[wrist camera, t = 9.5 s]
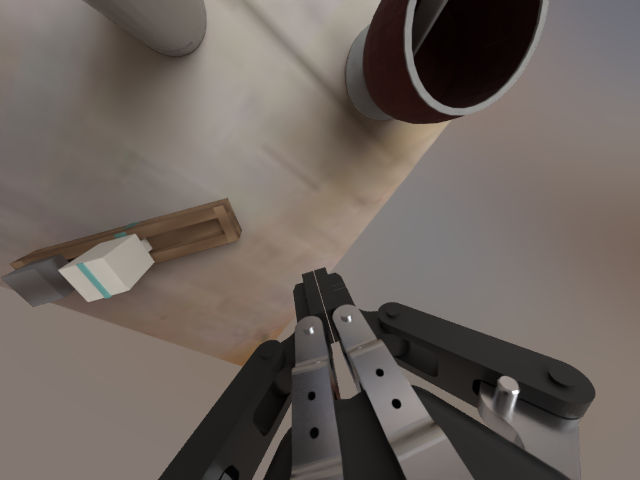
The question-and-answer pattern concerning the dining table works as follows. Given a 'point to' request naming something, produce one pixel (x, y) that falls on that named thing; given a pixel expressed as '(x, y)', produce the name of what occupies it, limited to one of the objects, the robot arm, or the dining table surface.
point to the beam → (161, 233)
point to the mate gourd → (441, 57)
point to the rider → (109, 267)
